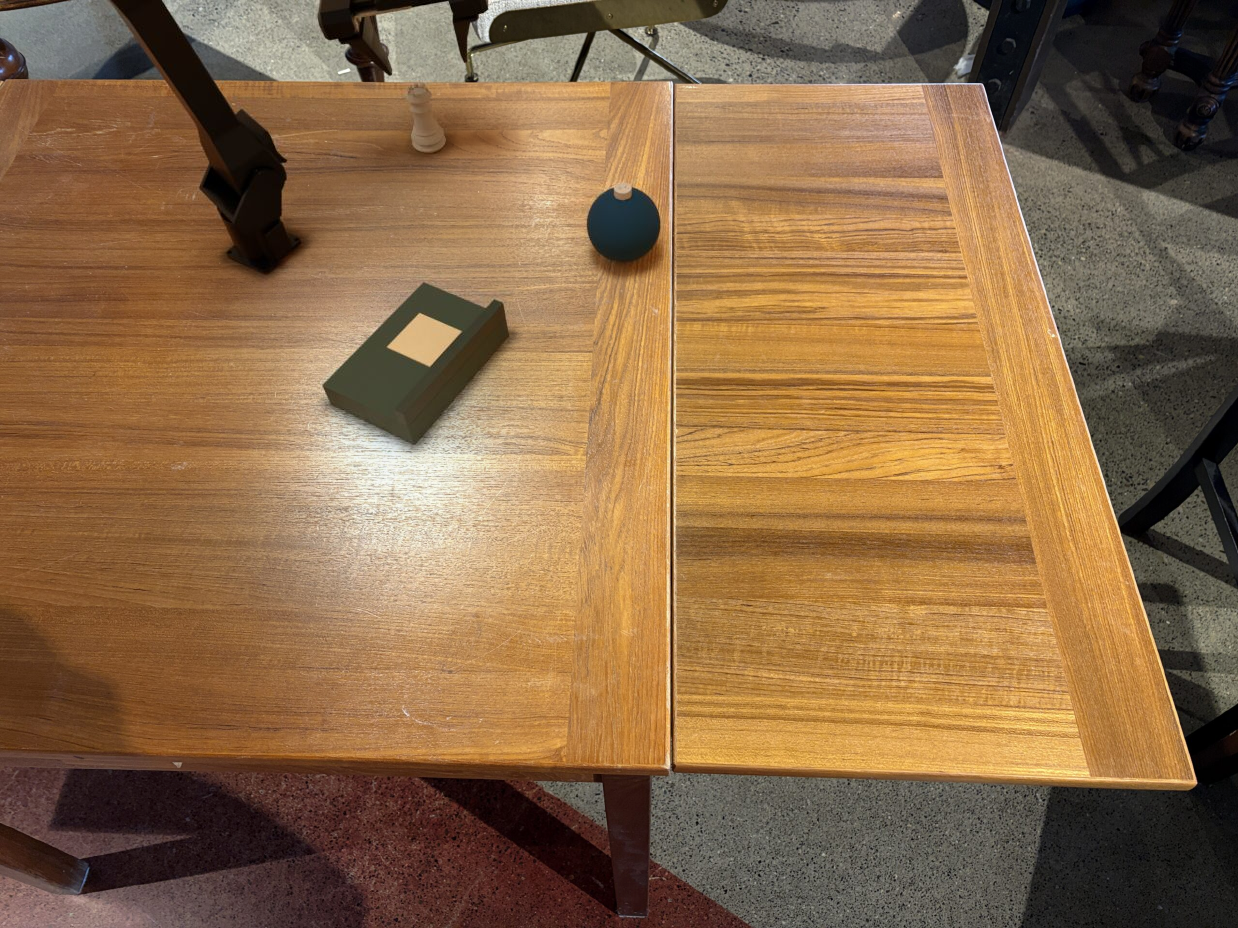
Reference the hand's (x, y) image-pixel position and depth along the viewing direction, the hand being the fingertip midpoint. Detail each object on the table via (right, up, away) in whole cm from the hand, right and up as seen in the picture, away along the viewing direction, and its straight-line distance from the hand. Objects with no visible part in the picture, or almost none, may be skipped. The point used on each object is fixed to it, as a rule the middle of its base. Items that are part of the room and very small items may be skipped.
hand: (428, 67), depth 106 cm
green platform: (+2, -37, -11) cm, 39 cm away
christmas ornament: (+23, -23, -1) cm, 33 cm away
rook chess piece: (-2, -5, +12) cm, 13 cm away
